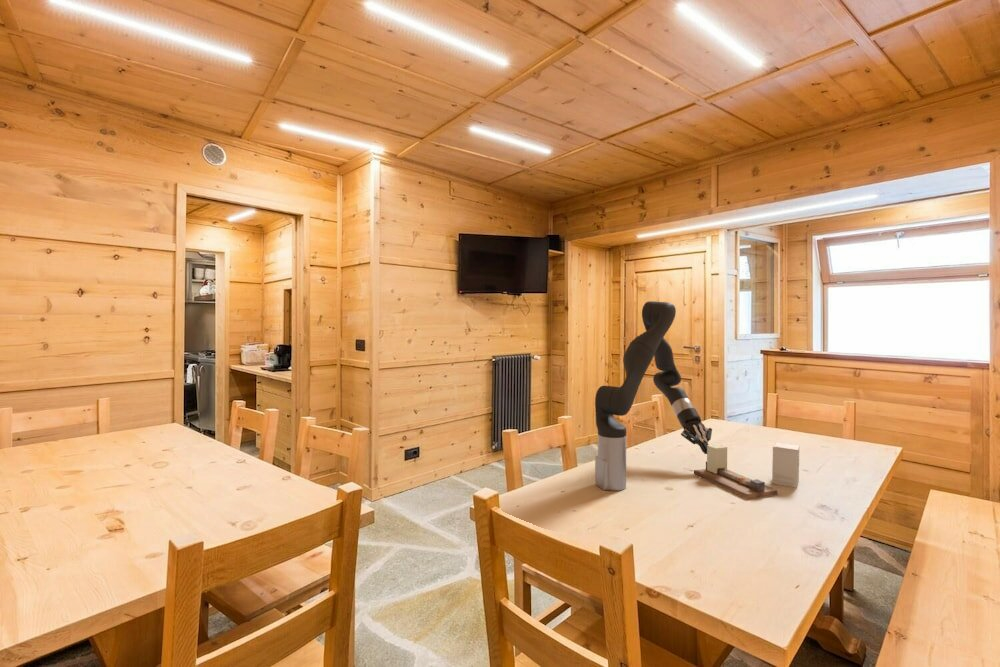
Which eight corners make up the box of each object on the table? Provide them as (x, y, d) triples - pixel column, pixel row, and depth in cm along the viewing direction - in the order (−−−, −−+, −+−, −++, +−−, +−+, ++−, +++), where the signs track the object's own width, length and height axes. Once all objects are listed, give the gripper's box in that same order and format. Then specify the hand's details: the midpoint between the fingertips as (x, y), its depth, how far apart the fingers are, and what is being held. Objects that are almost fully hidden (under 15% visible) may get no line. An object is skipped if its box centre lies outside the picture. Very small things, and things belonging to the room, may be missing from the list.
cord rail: (746, 499, 143) (747, 484, 143) (693, 474, 166) (693, 461, 166) (777, 494, 146) (777, 480, 146) (721, 471, 169) (721, 459, 169)
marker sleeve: (715, 473, 160) (715, 448, 160) (706, 470, 164) (707, 445, 164) (727, 472, 162) (727, 447, 162) (718, 468, 166) (718, 444, 165)
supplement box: (797, 488, 152) (798, 450, 152) (771, 483, 156) (772, 446, 156) (799, 482, 158) (800, 445, 157) (774, 477, 162) (774, 441, 162)
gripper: (675, 407, 174) (698, 449, 163) (705, 406, 178) (728, 446, 166) (666, 419, 179) (687, 459, 168) (695, 417, 183) (717, 456, 171)
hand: (708, 452), depth 167 cm, fingers closed
